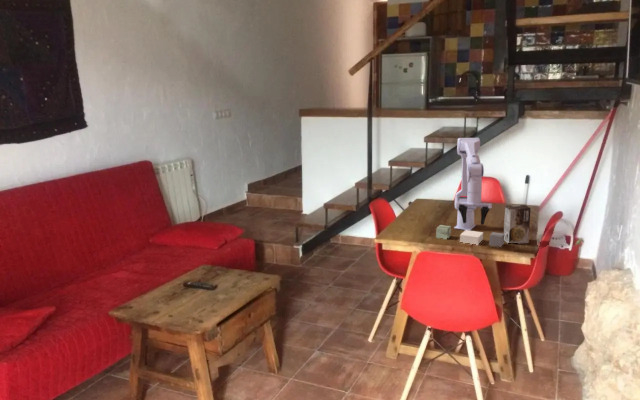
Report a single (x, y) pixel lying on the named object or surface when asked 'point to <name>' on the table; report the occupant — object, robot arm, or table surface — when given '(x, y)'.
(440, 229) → the green cube
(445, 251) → the table surface
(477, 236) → the cream base block
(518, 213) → the coffee box
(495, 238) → the grey cube
